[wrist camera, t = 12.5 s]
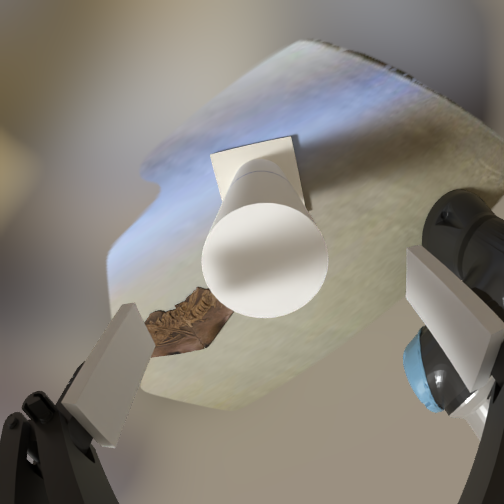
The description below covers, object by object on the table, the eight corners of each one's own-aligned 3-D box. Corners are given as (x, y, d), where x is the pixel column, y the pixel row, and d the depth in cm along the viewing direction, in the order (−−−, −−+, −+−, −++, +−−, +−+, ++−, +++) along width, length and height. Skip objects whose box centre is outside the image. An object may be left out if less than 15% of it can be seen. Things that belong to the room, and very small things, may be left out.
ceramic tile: (290, 136, 38) (290, 136, 37) (305, 211, 42) (306, 213, 41) (210, 154, 39) (209, 154, 38) (230, 228, 43) (230, 230, 42)
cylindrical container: (255, 147, 38) (255, 174, 15) (296, 181, 39) (353, 256, 16) (222, 189, 40) (177, 274, 17) (263, 220, 42) (272, 336, 19)
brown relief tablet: (217, 275, 46) (217, 278, 45) (254, 323, 50) (254, 327, 49) (113, 333, 52) (111, 336, 51) (149, 370, 56) (147, 373, 55)
